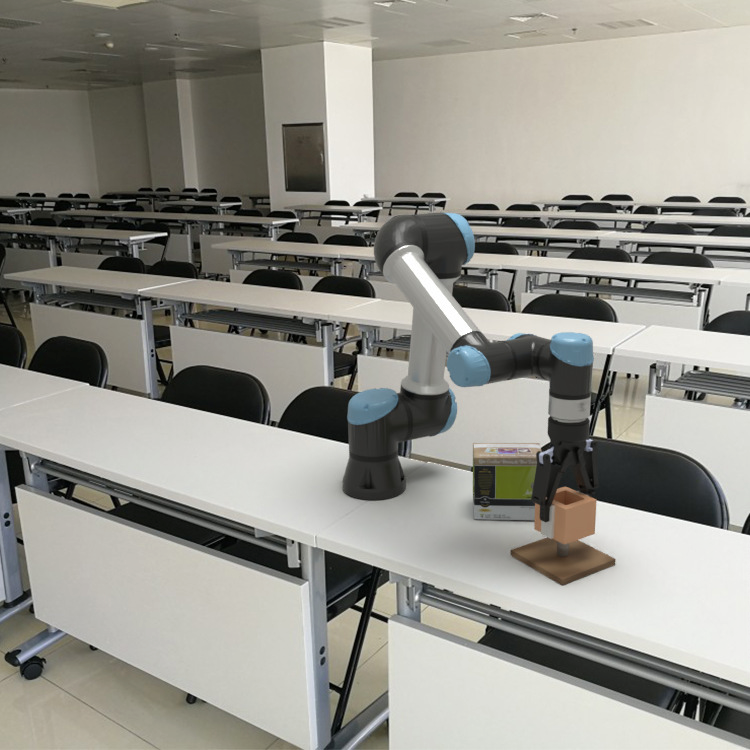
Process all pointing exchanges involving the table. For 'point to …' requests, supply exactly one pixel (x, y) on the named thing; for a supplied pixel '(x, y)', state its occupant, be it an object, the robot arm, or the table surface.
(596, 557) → the post board
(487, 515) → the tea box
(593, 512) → the collar
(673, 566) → the table surface
